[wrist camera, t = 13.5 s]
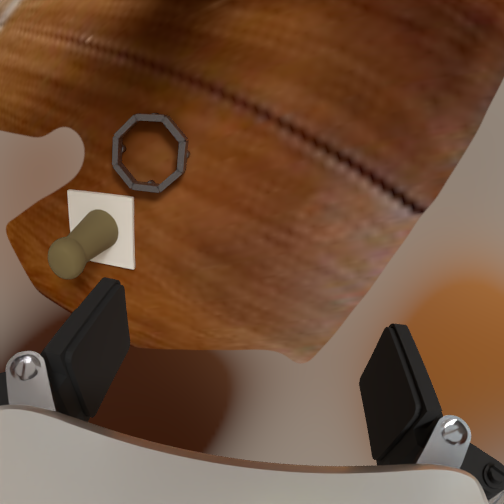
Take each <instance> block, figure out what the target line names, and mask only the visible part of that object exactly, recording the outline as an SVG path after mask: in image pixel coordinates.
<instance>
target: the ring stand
mask: <svg viewBox="0 0 504 504" xmlns="http://www.w3.org/2000/svg"><path fill="white" fill-rule="evenodd" d="M139 121H157V122H162V123H163V124H164V125H165V126H166V127H167V129H168V130H169V131H170V132H171V134H172V135H173V136H174V137H175V138H176V140H177V141H178V142H179V149H178V161H177V170H176V171H175V172H174V173H173V174H171V175H170V176H169V177H168V178H167V179H166V180H164V181H163V182H162V183H161V184H156V183H155V182H154V181H153V180H149V181H148V182H139V181H136V179H135V178H134V177H133V176H132V174H131V173H130V172H129V171H128V169H127V168H126V167H125V166H124V165H123V163H122V152H125V151H126V146H125V145H122V141H123V136H124V135H125V134H126V133H127V132H128V131H129V130H130V129H131V128H132V127H133V126H135V125H136V124H137V123H138V122H139ZM187 139H188V138H187V137H186V136H185V134H184V133H183V132H182V131H181V129H180V128H179V127H178V126H177V125H176V123H175V122H174V121H173V120H172V118H171V117H170V116H167V115H163V114H158V113H152V114H141V113H139V114H135V115H133V116H132V117H131V118H130V119H129V120H128V121H127V122H126V123H125V124H124V125H123V126H122V127H121V128H120V129H119V130H118V131H117V132H116V133H115V134H114V137H113V150H112V165H114V166H113V168H114V169H115V171H116V172H117V173H118V174H119V175H120V177H121V178H122V179H123V180H124V182H125V183H126V184H127V185H128V187H129V188H130V189H131V188H132V190H139V191H148V192H156V193H159V192H162V191H163V190H164V189H165V188H166V187H167V186H169V185H170V184H171V183H172V182H173V181H175V180H176V179H177V178H178V177H179V176H181V175H182V174H183V173H184V172H185V170H186V162H187V158H188V157H189V156H190V152H189V151H188V140H187Z"/></svg>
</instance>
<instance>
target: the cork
mask: <svg viewBox="0 0 504 504" xmlns="http://www.w3.org/2000/svg"><path fill="white" fill-rule="evenodd" d="M118 233H119V232H118V226H117V224H116V221H115V220H114V218H113V217H112V216H111V215H110V214H109V213H107V212H106V211H103V210H98V209H95V210H92V211H90V212H89V213H88V214H87V215H86V216H85V217H84V218H83V219H82V220H81V222H80V223H79V224H78V225H77V226H76V227H75V228H74V229H73V230H72V231H71V232H70V234H69V235H68V236H67V237H63V238H60V239H57V240H56V241H54V243H53V244H52V245H51V246H50V248H49V251H48V262H49V265H50V267H51V269H52V270H53V272H54V273H55V274H56V275H58V276H59V277H61V278H63V279H73V278H76V277H77V276H78V275H80V274H81V273H82V272H83V269H84V267H85V265H86V263H87V262H88V261H90V260H91V259H93V258H94V257H96V256H97V255H99V254H100V253H102V252H103V251H105V250H107V249H108V248H110V247H111V246H112V245H114V244H115V243H116V241H117V239H118Z"/></svg>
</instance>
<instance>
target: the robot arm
mask: <svg viewBox="0 0 504 504" xmlns="http://www.w3.org/2000/svg"><path fill="white" fill-rule="evenodd" d="M129 347H130V337H129V329H128V320H127V311H126V301H125V290H124V286H123V285H120V282H119V281H118V280H115V279H110V278H103V279H102V280H101V281H100V282H99V283H98V284H97V285H96V287H95V288H94V289H93V290H92V291H91V292H90V294H89V295H88V296H87V297H86V298H85V300H84V301H83V302H82V303H81V304H80V306H79V307H78V308H77V309H76V310H75V311H74V312H73V313H72V314H71V315H70V317H69V318H68V319H67V320H66V322H65V323H64V324H63V325H62V327H61V328H60V329H59V330H58V332H57V333H56V334H55V336H54V337H53V338H52V339H51V341H50V342H49V343H48V345H47V346H46V348H45V349H44V350H43V351H42V353H41V354H38V353H35V352H32V351H23V352H20V353H17V354H16V355H14V356H13V357H12V358H11V359H10V360H9V361H8V363H7V366H6V372H3V373H0V504H504V466H503V465H502V464H501V463H500V462H499V461H497V460H496V459H494V458H493V457H491V456H489V455H488V454H486V453H485V452H483V451H482V450H480V449H479V448H477V447H476V446H474V445H473V444H471V443H470V441H471V431H470V429H469V427H468V425H467V424H466V423H465V421H463V420H462V419H461V418H459V417H457V416H452V415H447V416H444V417H443V415H442V412H441V411H442V409H441V406H440V404H439V401H438V398H437V396H436V393H435V390H434V388H433V385H432V383H431V380H430V378H429V375H428V373H427V370H426V368H425V366H424V363H423V361H422V358H421V356H420V354H419V351H418V349H417V347H416V345H415V342H414V340H413V338H412V336H411V333H410V331H409V329H408V327H407V326H406V325H400V324H391V325H390V326H389V327H386V328H385V329H384V331H383V333H382V335H381V337H380V339H379V341H378V344H377V346H376V348H375V350H374V352H373V354H372V356H371V358H370V360H369V362H368V364H367V366H366V368H365V370H364V372H363V374H362V376H361V378H360V382H359V386H360V391H361V396H362V401H363V407H364V412H365V417H366V422H367V428H368V434H369V440H370V446H371V452H372V457H373V459H374V460H376V461H377V466H308V465H290V464H279V463H268V462H258V461H250V460H242V459H235V458H228V457H222V456H216V455H210V454H205V453H199V452H194V451H189V450H185V449H180V448H175V447H171V446H167V445H162V444H159V443H155V442H150V441H147V440H143V439H140V438H136V437H133V436H129V435H126V434H122V433H119V432H116V431H113V430H110V429H106V428H103V427H100V426H97V425H94V424H91V423H88V420H89V418H90V417H94V416H95V415H96V413H97V411H98V409H99V407H100V404H101V403H102V401H103V398H104V397H105V395H106V393H107V390H108V389H109V386H110V385H111V382H112V381H113V379H114V377H115V374H116V373H117V371H118V369H119V367H120V365H121V363H122V361H123V359H124V357H125V356H126V354H127V352H128V350H129Z"/></svg>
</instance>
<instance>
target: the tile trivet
mask: <svg viewBox="0 0 504 504" xmlns="http://www.w3.org/2000/svg"><path fill="white" fill-rule="evenodd" d="M67 195H68V210H69V222H70V232H71V231H72V230H73V229H74V228H75V227H76V226H77V225H78V224H79V223H80V222H81V220H82V219H83V218H84V217H85V216H86V215H87V214H88V213H89V212H90V211H92V210H95V209H98V210H103V211H106V212H107V213H109V214H110V215H111V216H112V217H113V218H114V220H115V221H116V224H117V226H118V232H119V233H118V239H117V241H116V243H115V244H114V245H112V246H111V247H110V248H108V249H107V250H105V251H103V252H102V253H100V254H99V255H97V256H96V257H94V258H93V259H91V260H90V261H93V262H98V263H103V264H108V265H113V266H118V267H123V268H128V269H133V270H134V269H135V247H134V197H132V196H124V195H116V194H107V193H99V192H90V191H81V190H71V189H69V190H67Z"/></svg>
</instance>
